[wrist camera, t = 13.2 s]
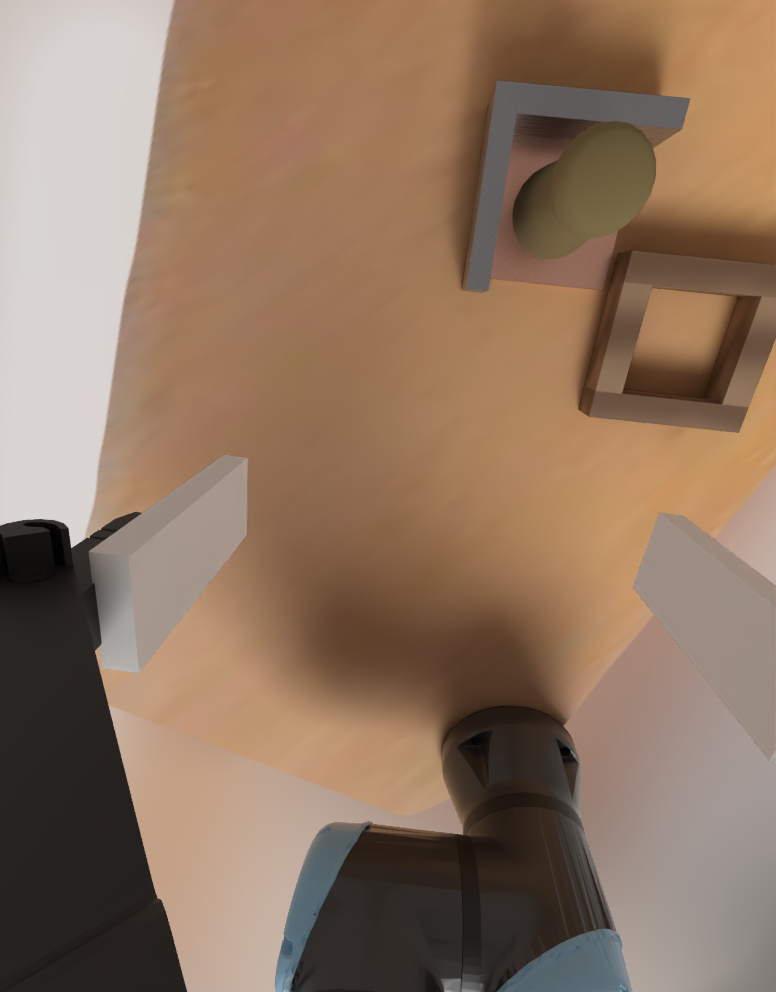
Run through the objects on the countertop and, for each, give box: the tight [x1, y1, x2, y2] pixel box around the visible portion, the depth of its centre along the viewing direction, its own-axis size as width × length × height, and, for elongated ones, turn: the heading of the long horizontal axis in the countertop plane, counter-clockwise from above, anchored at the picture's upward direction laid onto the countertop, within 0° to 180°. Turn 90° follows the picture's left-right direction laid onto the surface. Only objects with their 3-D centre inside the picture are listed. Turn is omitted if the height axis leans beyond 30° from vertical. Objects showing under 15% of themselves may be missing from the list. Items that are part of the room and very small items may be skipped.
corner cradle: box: [462, 80, 690, 292], centre depth 32 cm, size 12×12×4 cm
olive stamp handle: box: [512, 121, 656, 260], centre depth 29 cm, size 6×6×11 cm
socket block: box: [579, 250, 776, 433], centre depth 36 cm, size 12×12×3 cm
